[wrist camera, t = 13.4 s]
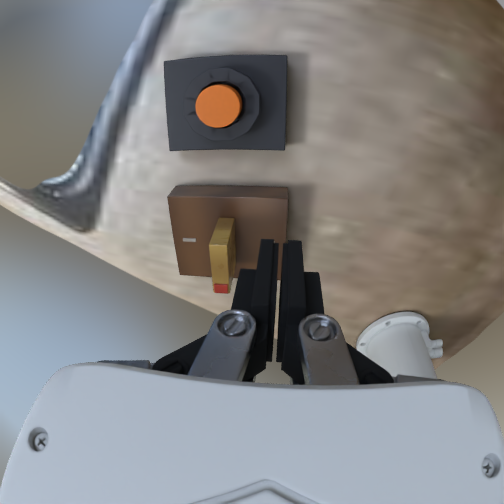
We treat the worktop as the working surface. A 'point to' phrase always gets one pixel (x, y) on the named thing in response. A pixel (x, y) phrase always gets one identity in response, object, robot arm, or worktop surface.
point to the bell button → (218, 105)
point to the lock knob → (223, 255)
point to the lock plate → (226, 206)
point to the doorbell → (252, 94)
